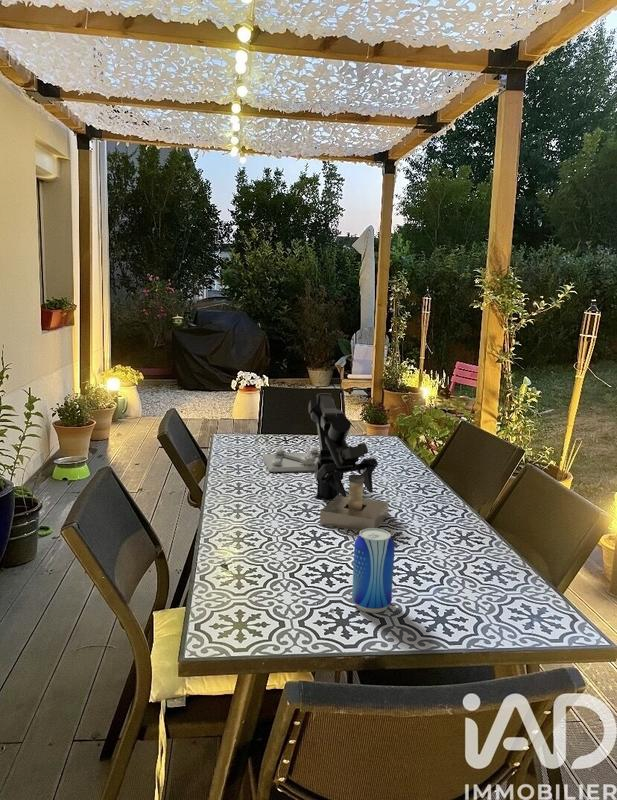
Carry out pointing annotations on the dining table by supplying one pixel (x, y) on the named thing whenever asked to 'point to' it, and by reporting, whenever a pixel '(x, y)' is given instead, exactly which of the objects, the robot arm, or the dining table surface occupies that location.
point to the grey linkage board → (291, 461)
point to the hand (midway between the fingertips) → (358, 494)
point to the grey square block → (353, 514)
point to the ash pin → (355, 492)
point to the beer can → (373, 570)
